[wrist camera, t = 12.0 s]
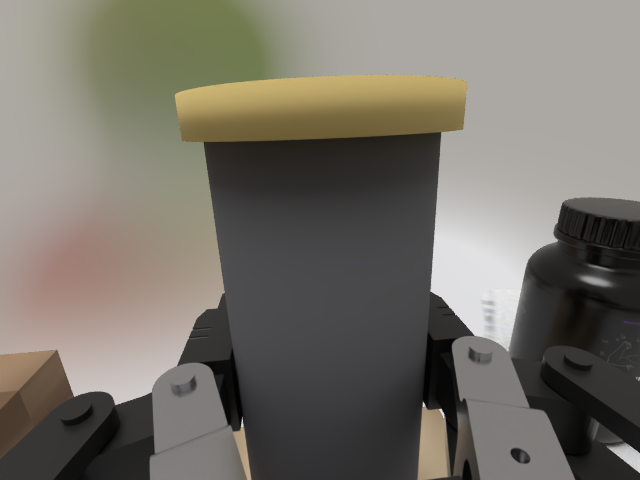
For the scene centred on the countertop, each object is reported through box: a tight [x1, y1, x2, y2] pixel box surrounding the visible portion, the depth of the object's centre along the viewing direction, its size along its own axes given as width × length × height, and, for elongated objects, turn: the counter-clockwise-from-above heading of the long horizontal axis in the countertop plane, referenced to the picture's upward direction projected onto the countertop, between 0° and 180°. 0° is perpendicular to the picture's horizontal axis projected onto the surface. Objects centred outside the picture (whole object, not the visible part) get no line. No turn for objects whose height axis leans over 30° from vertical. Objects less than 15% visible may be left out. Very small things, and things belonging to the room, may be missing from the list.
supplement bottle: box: [508, 198, 640, 443], centre depth 19 cm, size 7×7×12 cm
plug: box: [175, 75, 467, 480], centre depth 10 cm, size 6×6×15 cm
